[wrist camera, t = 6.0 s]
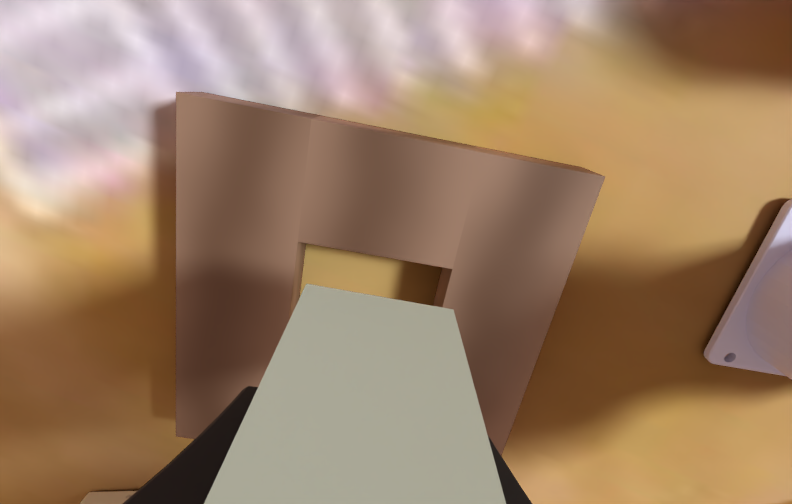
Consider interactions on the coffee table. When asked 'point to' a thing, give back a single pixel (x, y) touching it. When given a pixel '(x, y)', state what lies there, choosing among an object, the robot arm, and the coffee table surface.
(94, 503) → the skincare box
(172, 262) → the coffee table surface
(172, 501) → the robot arm
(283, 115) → the walnut socket frame
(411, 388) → the sage peg
